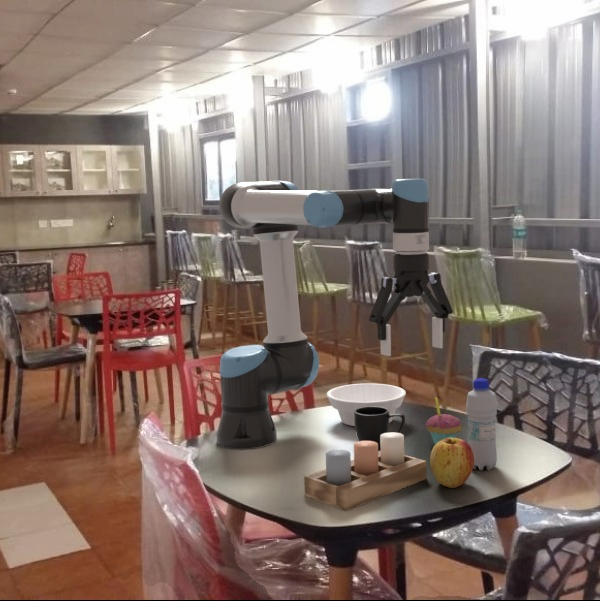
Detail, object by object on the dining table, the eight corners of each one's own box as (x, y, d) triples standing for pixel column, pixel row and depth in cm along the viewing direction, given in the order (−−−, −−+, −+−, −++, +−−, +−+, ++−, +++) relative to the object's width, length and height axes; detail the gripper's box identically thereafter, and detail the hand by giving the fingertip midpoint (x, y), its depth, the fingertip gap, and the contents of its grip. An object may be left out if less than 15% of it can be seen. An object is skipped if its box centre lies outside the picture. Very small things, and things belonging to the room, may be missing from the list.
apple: (481, 490, 168) (481, 442, 166) (439, 494, 166) (439, 446, 165) (463, 475, 177) (463, 430, 175) (423, 480, 175) (422, 434, 173)
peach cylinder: (349, 472, 172) (348, 444, 171) (366, 466, 175) (365, 439, 174) (366, 478, 168) (366, 449, 167) (383, 471, 171) (382, 444, 170)
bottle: (480, 474, 177) (479, 383, 174) (460, 465, 183) (459, 377, 180) (504, 468, 180) (503, 379, 177) (484, 460, 186) (483, 373, 183)
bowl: (318, 416, 228) (317, 387, 227) (390, 408, 233) (389, 380, 231) (340, 437, 207) (339, 405, 206) (418, 428, 212) (418, 397, 211)
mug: (402, 456, 190) (401, 416, 189) (351, 453, 194) (350, 414, 192) (408, 445, 198) (407, 407, 197) (359, 443, 202) (358, 405, 200)
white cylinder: (376, 463, 177) (375, 436, 176) (391, 457, 180) (391, 431, 179) (393, 468, 173) (392, 440, 172) (409, 462, 176) (408, 435, 175)
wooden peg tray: (304, 495, 168) (304, 476, 168) (385, 466, 184) (384, 449, 183) (346, 510, 159) (345, 490, 159) (426, 479, 175) (426, 460, 174)
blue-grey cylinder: (321, 482, 166) (320, 453, 166) (339, 476, 170) (338, 447, 169) (338, 488, 163) (337, 459, 162) (356, 481, 166) (355, 453, 165)
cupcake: (422, 447, 197) (421, 398, 195) (430, 436, 205) (430, 389, 203) (458, 450, 194) (457, 400, 192) (465, 439, 201) (464, 391, 200)
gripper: (371, 257, 164) (373, 361, 167) (469, 249, 176) (469, 346, 179) (351, 255, 171) (353, 355, 174) (446, 247, 183) (447, 341, 186)
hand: (412, 351), depth 177 cm, fingers open, 13 cm apart
